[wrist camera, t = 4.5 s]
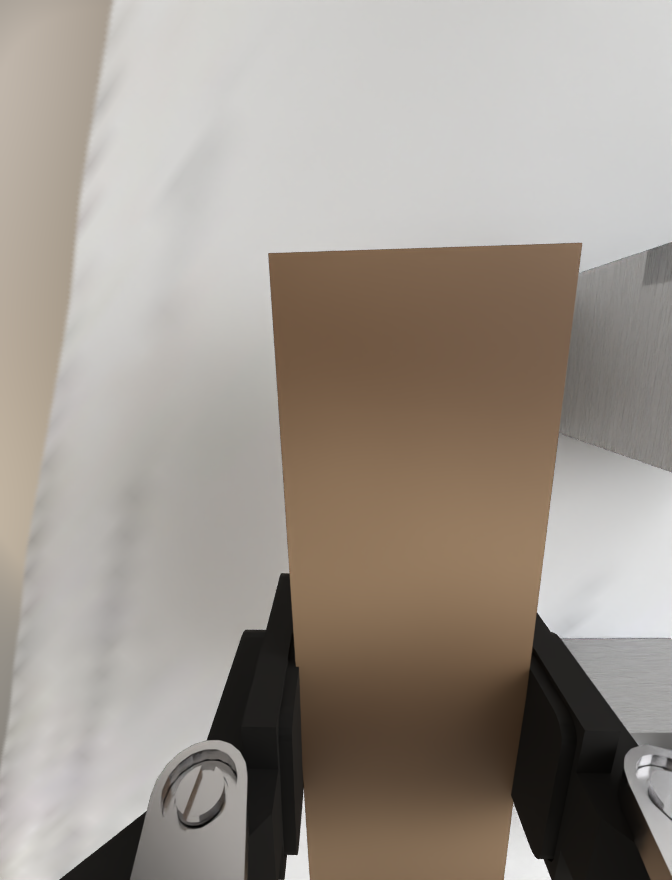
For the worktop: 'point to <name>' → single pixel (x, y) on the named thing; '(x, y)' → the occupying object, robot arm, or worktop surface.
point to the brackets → (625, 448)
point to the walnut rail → (417, 538)
